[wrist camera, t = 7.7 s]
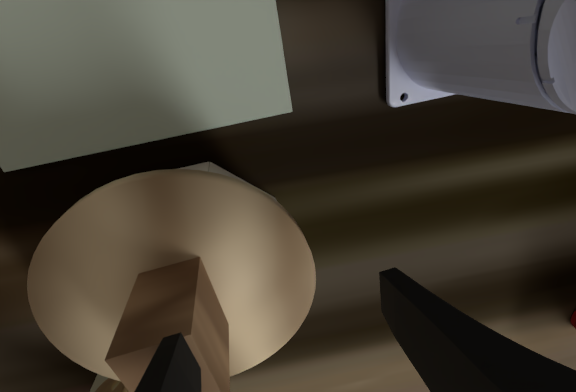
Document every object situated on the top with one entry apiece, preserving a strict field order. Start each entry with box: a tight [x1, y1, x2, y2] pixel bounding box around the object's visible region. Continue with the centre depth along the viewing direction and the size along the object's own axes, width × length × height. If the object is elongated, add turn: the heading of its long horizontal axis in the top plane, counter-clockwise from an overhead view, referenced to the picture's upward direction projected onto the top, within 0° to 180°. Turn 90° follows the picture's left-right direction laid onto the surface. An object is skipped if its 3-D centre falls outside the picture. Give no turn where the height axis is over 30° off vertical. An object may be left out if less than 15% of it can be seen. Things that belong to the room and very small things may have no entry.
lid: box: [27, 169, 316, 392], centre depth 14 cm, size 14×14×6 cm
